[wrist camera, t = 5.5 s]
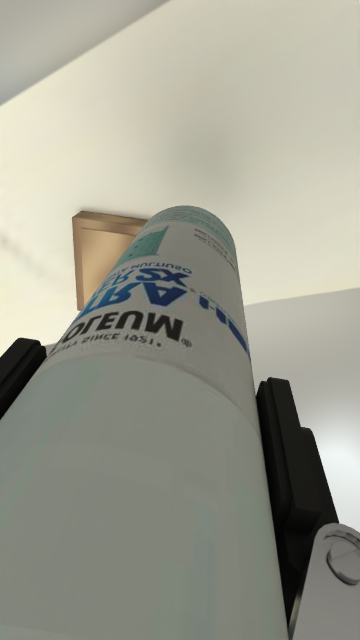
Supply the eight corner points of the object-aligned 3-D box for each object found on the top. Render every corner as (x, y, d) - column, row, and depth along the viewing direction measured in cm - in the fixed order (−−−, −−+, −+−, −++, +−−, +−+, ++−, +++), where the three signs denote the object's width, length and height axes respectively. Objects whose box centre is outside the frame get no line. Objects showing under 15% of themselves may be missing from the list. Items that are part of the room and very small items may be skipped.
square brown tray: (181, 225, 40) (178, 233, 37) (171, 312, 46) (168, 325, 43) (81, 210, 40) (71, 217, 38) (85, 299, 47) (76, 311, 44)
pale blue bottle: (172, 316, 24) (51, 825, 7) (114, 239, 21) (-313, 730, 4) (256, 270, 21) (399, 874, 4) (201, 178, 19) (32, 727, 2)
